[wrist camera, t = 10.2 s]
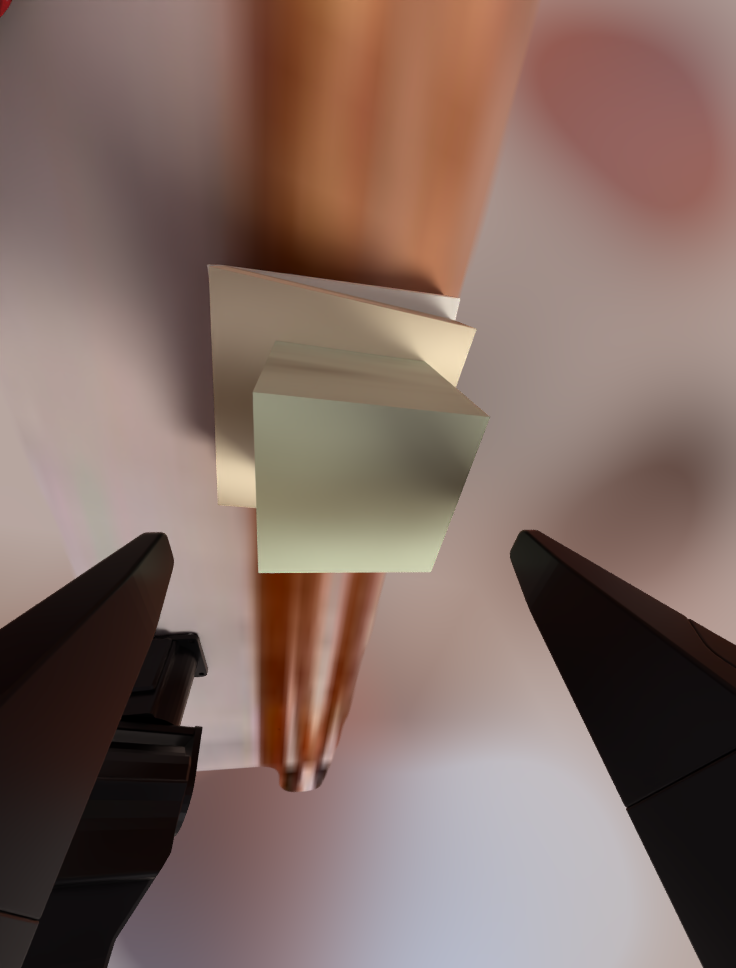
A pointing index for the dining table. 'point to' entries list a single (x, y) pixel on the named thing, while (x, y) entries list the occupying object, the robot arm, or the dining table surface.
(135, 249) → the dining table surface
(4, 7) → the soda can
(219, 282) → the top slab
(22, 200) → the dining table surface
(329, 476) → the sage cube
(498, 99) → the dining table surface
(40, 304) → the dining table surface
